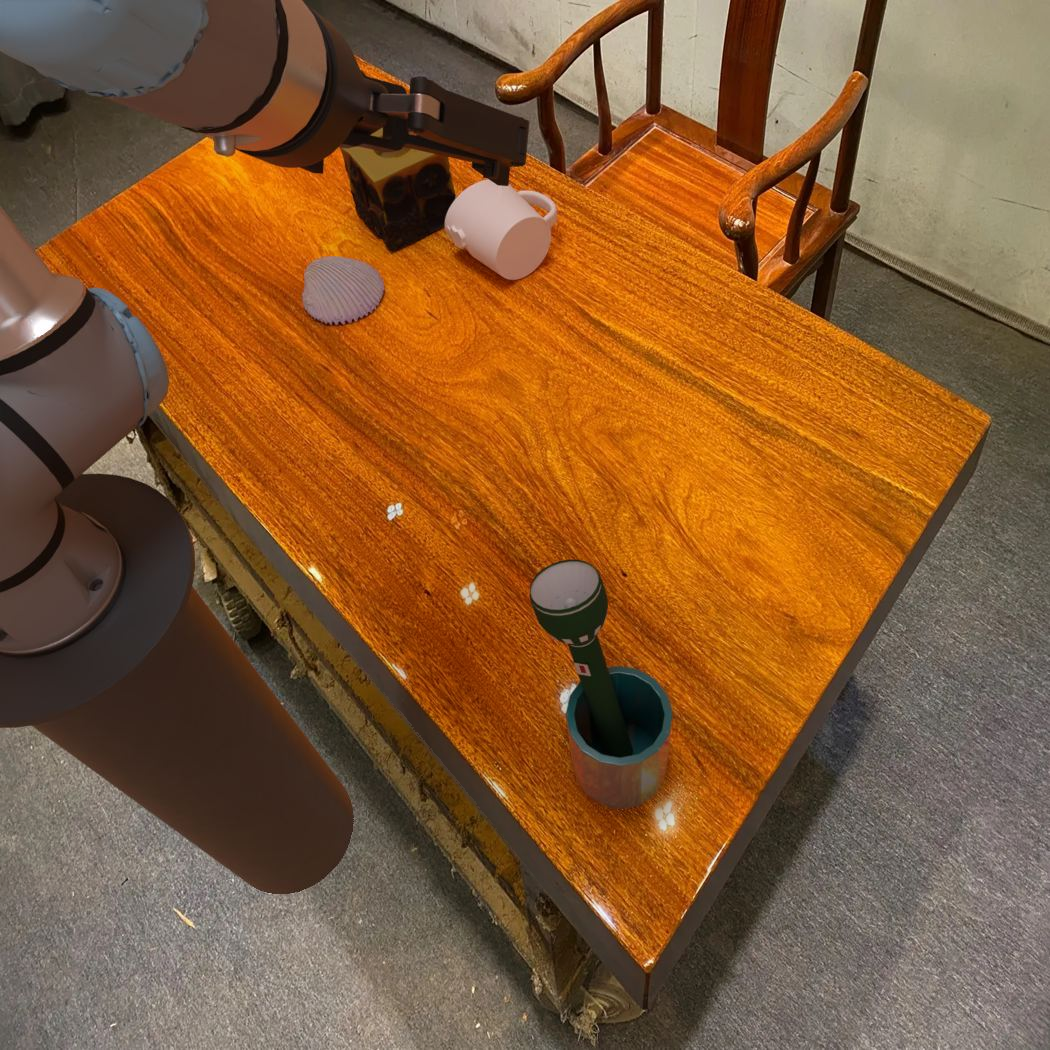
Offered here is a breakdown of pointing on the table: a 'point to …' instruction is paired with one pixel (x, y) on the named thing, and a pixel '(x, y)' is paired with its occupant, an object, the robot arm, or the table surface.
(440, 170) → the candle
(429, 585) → the table surface
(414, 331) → the table surface
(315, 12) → the robot arm
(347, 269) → the seashell
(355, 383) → the table surface
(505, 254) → the mug
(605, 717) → the flashlight
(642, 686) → the cup
